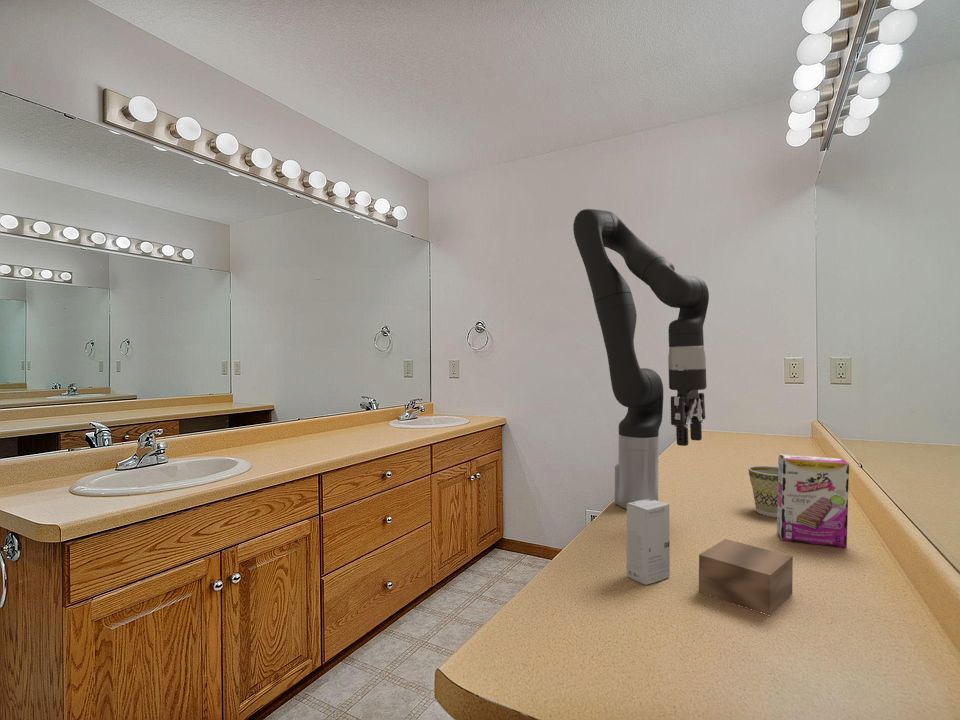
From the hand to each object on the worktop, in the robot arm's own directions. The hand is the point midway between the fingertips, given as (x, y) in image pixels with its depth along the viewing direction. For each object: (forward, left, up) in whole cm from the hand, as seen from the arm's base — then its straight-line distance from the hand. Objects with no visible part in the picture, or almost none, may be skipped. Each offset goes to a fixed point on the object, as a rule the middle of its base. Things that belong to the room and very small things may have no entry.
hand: (689, 442), depth 110 cm
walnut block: (+21, -25, -18) cm, 37 cm away
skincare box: (+8, -31, -18) cm, 36 cm away
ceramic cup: (+11, +22, -18) cm, 31 cm away
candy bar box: (+21, +8, -18) cm, 29 cm away
